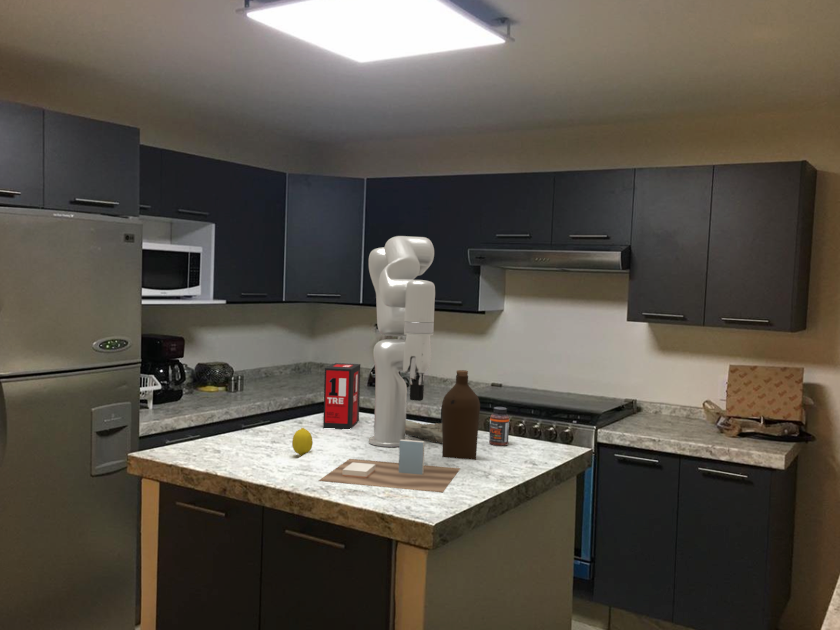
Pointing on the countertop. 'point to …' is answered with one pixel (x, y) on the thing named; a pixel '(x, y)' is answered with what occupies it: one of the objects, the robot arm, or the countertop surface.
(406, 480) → the board
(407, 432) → the long grey stone
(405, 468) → the tile
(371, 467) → the tile
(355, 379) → the cleaning product box
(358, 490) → the countertop surface
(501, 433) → the supplement bottle
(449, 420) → the olive oil
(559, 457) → the countertop surface
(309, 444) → the lemon
